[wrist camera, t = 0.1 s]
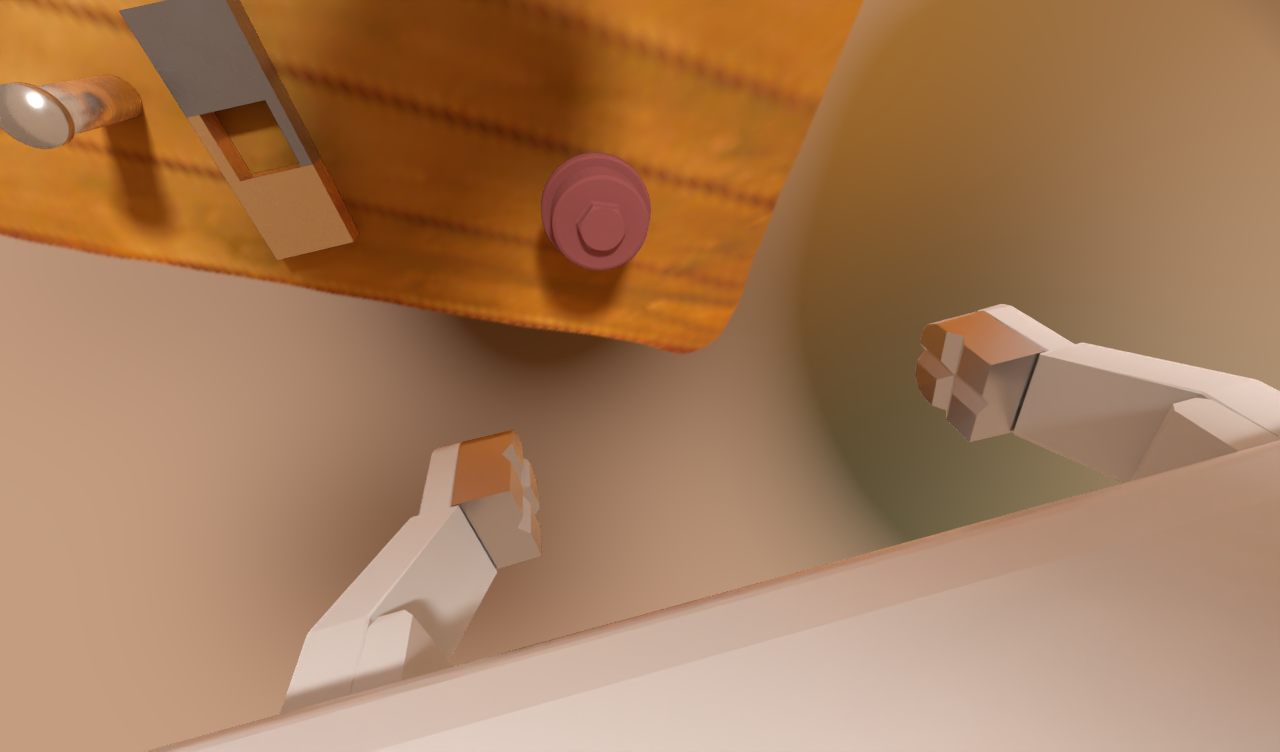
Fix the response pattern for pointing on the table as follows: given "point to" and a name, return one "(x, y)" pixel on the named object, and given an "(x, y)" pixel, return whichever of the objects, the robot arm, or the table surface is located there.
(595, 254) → the mechanical component
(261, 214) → the two-tone slotted plate
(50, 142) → the metal peg
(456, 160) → the table surface
